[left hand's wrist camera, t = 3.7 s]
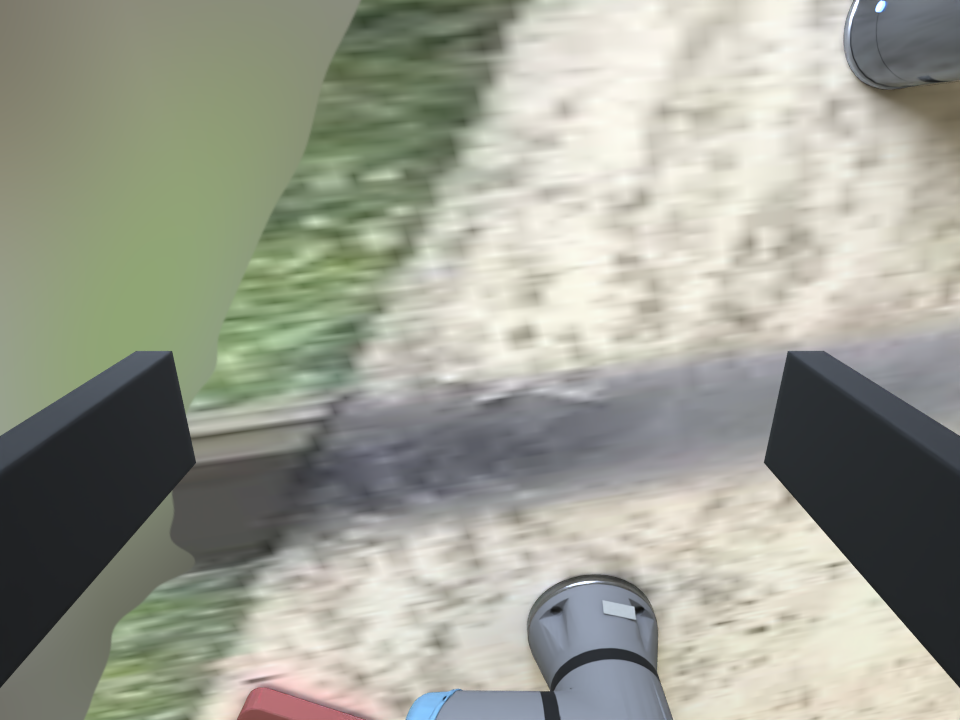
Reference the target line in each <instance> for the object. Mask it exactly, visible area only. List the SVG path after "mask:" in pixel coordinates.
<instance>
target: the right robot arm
mask: <svg viewBox="0 0 960 720" xmlns="http://www.w3.org/2000/svg"><path fill="white" fill-rule="evenodd" d="M844 51H845V55H846V59H847V61H848V64H849V66H850V68H851V70H852V71H853V72H854V74H855V75H856V76H857V77H858V78H859V79H860V80H861V81H863V82H864V83H866V84H868V85H870V86H872V87H875V88H879V89H900V88H906V87H911V86H918V85H923V84H932V83H940V82H949V81H957V80H960V0H854V1H853V3H852V5H851V7H850V10H849V12H848V15H847V19H846V23H845V28H844ZM957 82H959V81H957ZM950 83H951V82H950ZM942 84H943V83H942ZM934 85H936V84H934ZM926 86H928V85H926ZM919 87H920V86H919Z"/></svg>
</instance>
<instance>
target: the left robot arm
mask: <svg viewBox="0 0 960 720" xmlns="http://www.w3.org/2000/svg"><path fill="white" fill-rule="evenodd" d="M195 463H196V460H195V456H194V451H193V446H192V442H191V437H190V432H189V428H188V423H187V418H186V414H185V409H184V404H183V400H182V395H181V391H180V386H179V381H178V376H177V372H176V367H175V363H174V358H173V353H172V351H136V352H134V353H132V354H131V355H129V356H128V357H126V358H124V359H123V360H121V361H120V362H118V363H116V364H115V365H113V366H112V367H110V368H108V369H107V370H105V371H104V372H102V373H100V374H99V375H97V376H96V377H94V378H92V379H91V380H89V381H88V382H86V383H84V384H83V385H81V386H80V387H78V388H76V389H75V390H73V391H72V392H70V393H68V394H67V395H65V396H64V397H62V398H60V399H59V400H57V401H56V402H54V403H52V404H51V405H49V406H48V407H46V408H44V409H43V410H41V411H40V412H38V413H36V414H35V415H33V416H32V417H30V418H28V419H27V420H25V421H24V422H22V423H20V424H19V425H17V426H16V427H14V428H12V429H11V430H9V431H8V432H6V433H4V434H3V435H1V436H0V688H1V686H2V685H3V684H4V683H5V682H6V681H7V679H8V678H9V677H10V676H11V675H12V674H13V673H14V671H15V670H16V669H17V668H18V667H19V666H20V664H21V663H22V662H23V661H24V660H25V659H26V658H27V656H28V655H29V654H30V653H31V652H32V651H33V649H34V648H35V647H36V646H37V645H38V644H39V643H40V642H41V640H42V639H43V638H44V637H45V636H46V635H47V633H48V632H49V631H50V630H51V629H52V628H53V627H54V625H55V624H56V623H57V622H58V621H59V620H60V619H61V617H62V616H63V615H64V614H65V613H66V612H67V610H68V609H69V608H70V607H71V606H72V605H73V604H74V602H75V601H76V600H77V599H78V598H79V597H80V596H81V594H82V593H83V592H84V591H85V590H86V589H87V588H88V586H89V585H90V584H91V583H92V582H93V581H94V579H95V578H96V577H97V576H98V575H99V574H100V573H101V571H102V570H103V569H104V568H105V567H106V566H107V565H108V563H109V562H110V561H111V560H112V559H113V558H114V556H115V555H116V554H117V553H118V552H119V551H120V549H121V548H122V547H123V546H124V545H125V544H126V543H127V541H128V540H129V539H130V538H131V537H132V536H133V535H134V533H135V532H136V531H137V530H138V529H139V528H140V526H141V525H142V524H143V523H144V522H145V521H146V520H147V519H148V517H149V516H150V515H151V514H152V513H153V512H154V510H155V509H156V508H157V507H158V506H159V505H160V504H161V502H162V501H163V500H164V499H165V498H166V497H167V495H168V494H169V493H170V492H171V491H172V490H173V489H174V487H175V486H176V485H177V484H178V483H179V482H180V481H181V479H182V478H183V477H184V476H185V475H186V474H187V473H188V471H189V470H190V469H191V468H192V467H193V466H194V464H195ZM764 463H765V464H766V466H767V467H768V468H769V469H770V470H771V471H772V473H773V474H774V475H775V476H776V477H777V478H778V479H779V481H780V482H781V483H782V484H783V485H784V486H785V487H786V489H787V490H788V491H789V492H790V493H791V494H792V496H793V497H794V498H795V499H796V500H797V501H798V502H799V504H800V505H801V506H802V507H803V508H804V509H805V510H806V512H807V513H808V514H809V515H810V516H811V517H812V519H813V520H814V521H815V522H816V523H817V524H818V525H819V527H820V528H821V529H822V530H823V531H824V532H825V533H826V535H827V536H828V537H829V538H830V539H831V540H832V542H833V543H834V544H835V545H836V546H837V547H838V548H839V550H840V551H841V552H842V553H843V554H844V555H845V556H846V558H847V559H848V560H849V561H850V562H851V563H852V565H853V566H854V567H855V568H856V569H857V570H858V571H859V573H860V574H861V575H862V576H863V577H864V578H865V579H866V581H867V582H868V583H869V584H870V585H871V586H872V588H873V589H874V590H875V591H876V592H877V593H878V594H879V596H880V597H881V598H882V599H883V600H884V601H885V602H886V604H887V605H888V606H889V607H890V608H891V609H892V610H893V612H894V613H895V614H896V615H897V616H898V617H899V619H900V620H901V621H902V622H903V623H904V624H905V625H906V627H907V628H908V629H909V630H910V631H911V632H912V633H913V635H914V636H915V637H916V638H917V639H918V640H919V642H920V643H921V644H922V645H923V646H924V647H925V648H926V650H927V651H928V652H929V653H930V654H931V655H932V656H933V658H934V659H935V660H936V661H937V662H938V663H939V665H940V666H941V667H942V668H943V669H944V670H945V671H946V673H947V674H948V675H949V676H950V677H951V678H952V679H953V681H954V682H955V683H956V684H957V685H958V686H959V688H960V436H959V435H957V434H956V433H954V432H952V431H951V430H949V429H948V428H946V427H944V426H943V425H941V424H940V423H938V422H936V421H935V420H933V419H932V418H930V417H928V416H927V415H925V414H924V413H922V412H920V411H919V410H917V409H916V408H914V407H912V406H911V405H909V404H908V403H906V402H904V401H903V400H901V399H900V398H898V397H896V396H895V395H893V394H892V393H890V392H888V391H887V390H885V389H884V388H882V387H880V386H879V385H877V384H876V383H874V382H872V381H871V380H869V379H868V378H866V377H864V376H863V375H861V374H860V373H858V372H856V371H855V370H853V369H852V368H850V367H848V366H847V365H845V364H844V363H842V362H840V361H839V360H837V359H836V358H834V357H832V356H831V355H829V354H828V353H826V352H824V351H788V353H787V358H786V363H785V367H784V372H783V376H782V381H781V386H780V390H779V395H778V400H777V404H776V409H775V414H774V418H773V423H772V428H771V432H770V437H769V442H768V446H767V451H766V456H765V460H764ZM527 632H528V641H529V646H530V649H531V652H532V655H533V657H534V659H535V661H536V663H537V665H538V667H539V669H540V671H541V673H542V675H543V677H544V679H545V681H546V683H547V685H548V687H549V689H550V691H463V690H461V689H456V690H454V689H453V690H451V691H449V692H431V693H427V694H424V695H422V696H421V697H419V698H418V699H417V700H416V701H415V702H414V703H413V705H412V706H411V708H410V710H409V712H408V715H407V717H406V720H673V718H672V715H671V712H670V709H669V706H668V703H667V700H666V697H665V694H664V691H663V688H662V686H661V683H660V680H659V677H658V674H657V654H658V627H657V621H656V617H655V614H654V611H653V609H652V606H651V604H650V602H649V600H648V599H647V597H646V596H645V595H644V593H643V592H642V591H641V590H639V589H638V588H637V587H636V586H634V585H632V584H631V583H629V582H627V581H625V580H622V579H619V578H616V577H612V576H606V575H584V576H578V577H574V578H570V579H567V580H564V581H562V582H560V583H558V584H556V585H554V586H552V587H551V588H549V589H548V590H547V591H545V592H544V593H543V594H542V595H541V596H540V597H539V598H538V599H537V601H536V602H535V603H534V605H533V607H532V608H531V610H530V613H529V616H528V621H527Z"/></svg>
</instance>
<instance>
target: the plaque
mask: <svg viewBox="0 0 960 720" xmlns="http://www.w3.org/2000/svg"><path fill="white" fill-rule="evenodd" d="M237 720H365V719H361V718H358V717H355V716H352V715H349V714H346V713H343V712H340V711H337V710H334V709H330V708H327V707H324V706H321V705H318V704H315V703H312V702H309V701H306V700H302V699H299V698H296V697H293V696H290V695H287V694H284V693H281V692H278V691H275V690H271V689H268V688H257V689H254V690H253V691H252V692H251V693H250V694H249V695H248V697H247V700H246V702H245V704H244V706H243V708H242V710H241V712H240V714H239V717H238V719H237Z"/></svg>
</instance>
